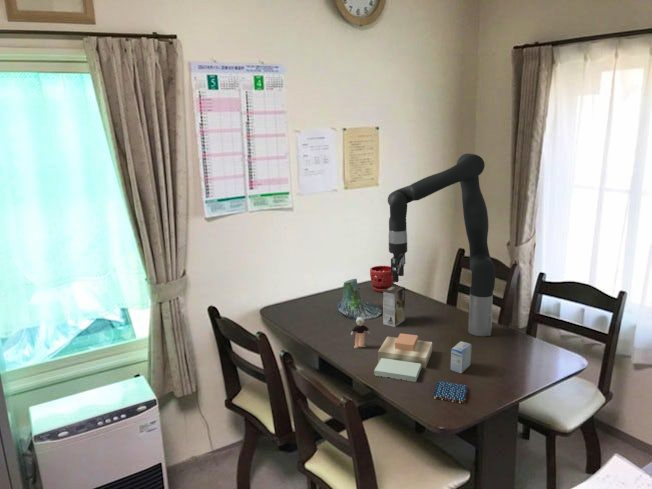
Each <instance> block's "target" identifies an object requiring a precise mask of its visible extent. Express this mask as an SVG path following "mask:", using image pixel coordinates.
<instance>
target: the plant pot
mask: <svg viewBox="0 0 652 489" xmlns="http://www.w3.org/2000/svg"><path fill="white" fill-rule="evenodd" d="M394 270H396V268H395V269H394ZM369 274H370V281H371V283H372V285H371V289H372V290H374V291H376V292H378V293H383V290H385V289H387V288H389V287H391V286H392V285H393V283H394V282H393V273H391V265H390V266H389V265H377V266H376V265H375V266H371V267H370V269H369Z"/></svg>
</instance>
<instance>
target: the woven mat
mask: <svg viewBox="0 0 652 489" xmlns="http://www.w3.org/2000/svg"><path fill="white" fill-rule="evenodd" d="M434 387H435V388H434V391H433V393H432V398H433V399H434V400H438V398H439V399H440V400H441V401H445V400H447V401H450V400H451V401H450V402H451V403H456V401H457V403H458V404H461V403H463V402H465V403H466V402H467V398H468V393H469V392H468V391H469V387H468V385H466V384H465V385H464V384H459V383H455V382H454V383H452V382H446V381H441V380H440V381H437V382H436V386H434ZM443 399H444V400H443Z"/></svg>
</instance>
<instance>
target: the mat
mask: <svg viewBox="0 0 652 489" xmlns="http://www.w3.org/2000/svg"><path fill="white" fill-rule="evenodd" d="M421 370H422V367H421V364H420V363H413V362H406V361H399V360H392V359H385V358H381V359H380V361H378V363H377V365H376V366H375V368H374V370H373V375H375V377H376V376H377V377H381V376H382V377H383V378H387V377H390V378H389V379H394V378H395V379H394V380H400V379H402V381H406V380H407V381H408V382H412V383H413V382H414V383H416V382H417V380H418V378H419V375H420V373H421Z"/></svg>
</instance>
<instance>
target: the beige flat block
mask: <svg viewBox="0 0 652 489" xmlns="http://www.w3.org/2000/svg"><path fill="white" fill-rule="evenodd" d="M397 338H398V337H396V336H386V338H385V340H384V341H383V343H382V344H381V346H380V348H379V349H378V351H377V354H378V355H377V362H379V361H380V359H381V358H385V359H392V360H399V361H406V362H413V363H420V364H421V369H422V368H424V369H426V368H427V365H428V363H429V360H430V358H431V356H432V352H433V342H432V341H426V340H425V341H424V340H419V339H418V342H417V344H416V346H415V348H414V351H407V350H400V349H395V342H396V340H397Z"/></svg>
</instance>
